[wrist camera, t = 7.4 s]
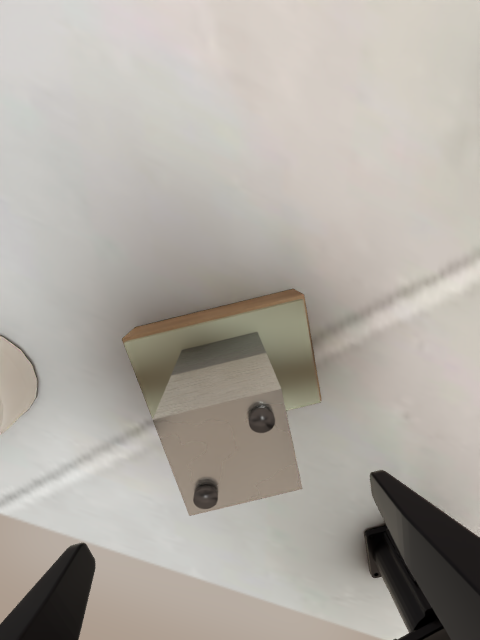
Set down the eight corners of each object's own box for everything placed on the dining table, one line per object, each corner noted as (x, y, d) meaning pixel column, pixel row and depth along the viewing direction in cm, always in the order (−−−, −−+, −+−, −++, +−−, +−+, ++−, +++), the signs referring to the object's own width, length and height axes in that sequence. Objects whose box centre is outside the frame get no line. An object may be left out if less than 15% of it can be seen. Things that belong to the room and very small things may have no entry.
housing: (257, 331, 16) (283, 392, 9) (272, 398, 18) (304, 495, 11) (181, 349, 16) (150, 424, 9) (202, 415, 18) (188, 522, 11)
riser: (309, 383, 21) (323, 404, 18) (168, 417, 21) (159, 443, 18) (293, 288, 19) (305, 295, 16) (135, 327, 19) (119, 341, 16)
